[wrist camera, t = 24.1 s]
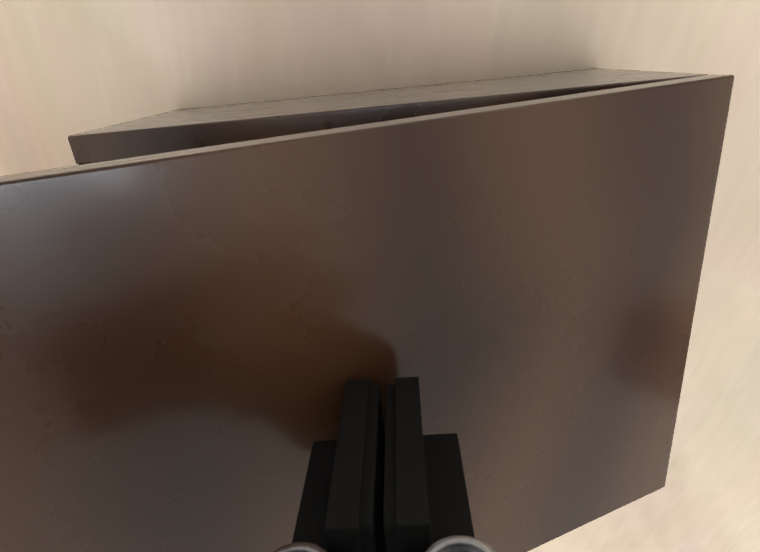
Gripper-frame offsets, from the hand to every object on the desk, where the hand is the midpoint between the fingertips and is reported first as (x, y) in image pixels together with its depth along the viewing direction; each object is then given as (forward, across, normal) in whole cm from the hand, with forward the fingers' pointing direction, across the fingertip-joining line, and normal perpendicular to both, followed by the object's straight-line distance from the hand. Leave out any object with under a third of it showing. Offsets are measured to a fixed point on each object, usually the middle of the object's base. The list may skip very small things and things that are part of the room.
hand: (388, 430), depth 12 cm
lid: (+1, 0, 0) cm, 1 cm away
